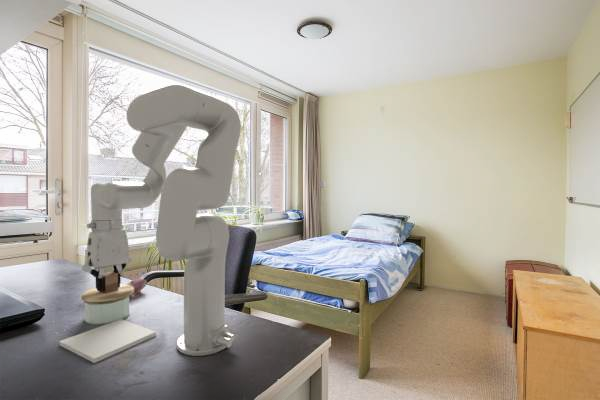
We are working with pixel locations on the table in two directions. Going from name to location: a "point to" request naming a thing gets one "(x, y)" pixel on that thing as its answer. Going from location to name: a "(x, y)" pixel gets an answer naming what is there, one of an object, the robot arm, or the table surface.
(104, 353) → the mat
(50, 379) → the table surface
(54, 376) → the table surface
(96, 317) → the bowl
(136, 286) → the video game controller
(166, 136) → the robot arm
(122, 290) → the lid
